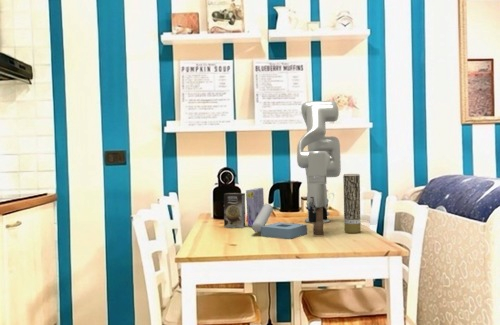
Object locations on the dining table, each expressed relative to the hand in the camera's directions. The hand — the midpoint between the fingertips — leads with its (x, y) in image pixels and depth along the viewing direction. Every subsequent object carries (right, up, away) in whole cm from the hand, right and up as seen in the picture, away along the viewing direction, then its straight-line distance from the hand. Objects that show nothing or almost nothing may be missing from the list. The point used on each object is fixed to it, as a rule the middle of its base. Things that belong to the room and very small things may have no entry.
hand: (318, 221), depth 193 cm
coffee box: (-36, -6, +26) cm, 45 cm away
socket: (-14, -6, +1) cm, 16 cm away
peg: (0, -6, +1) cm, 6 cm away
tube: (-24, -3, +12) cm, 26 cm away
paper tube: (+15, -6, +4) cm, 17 cm away
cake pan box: (-26, -6, +33) cm, 42 cm away
